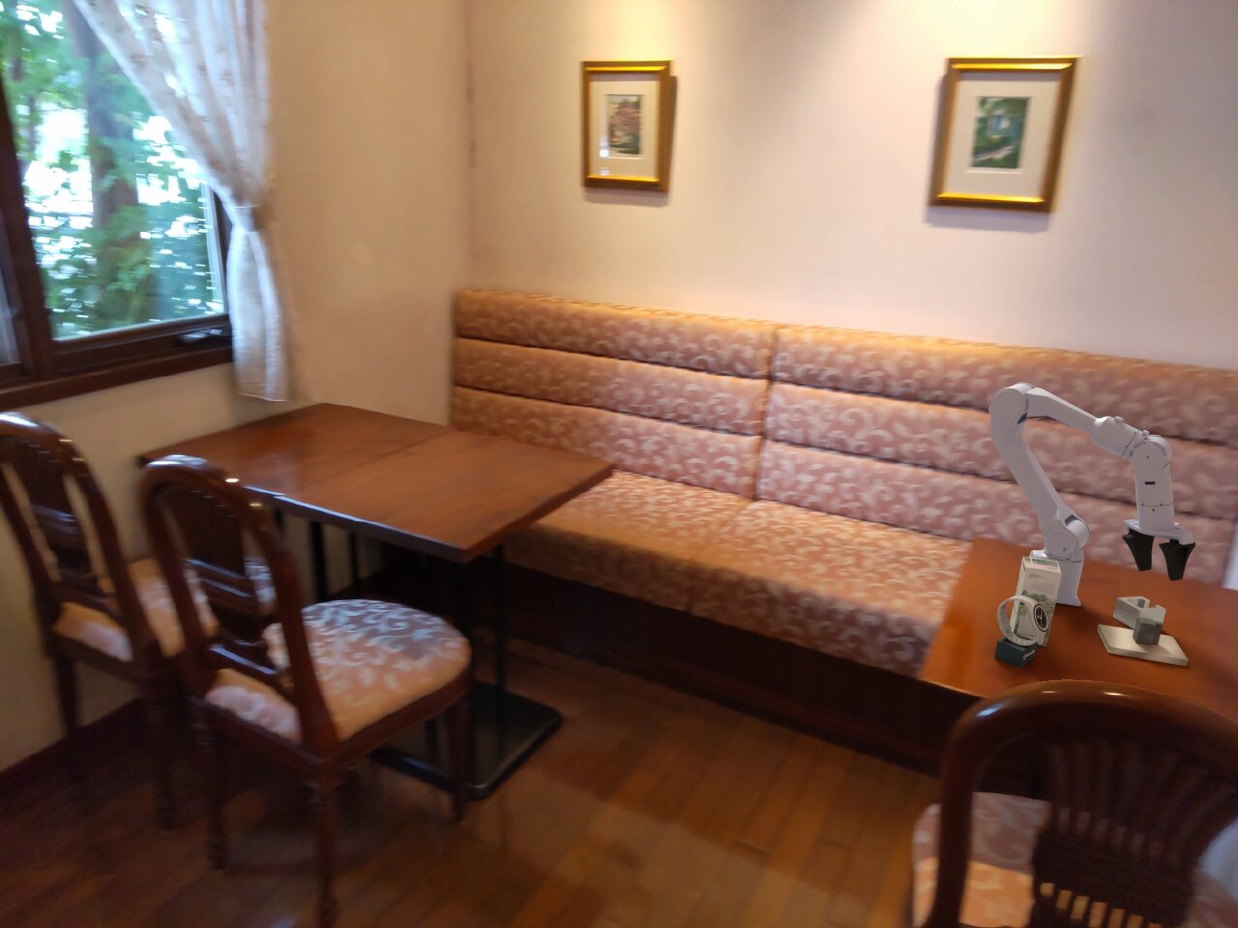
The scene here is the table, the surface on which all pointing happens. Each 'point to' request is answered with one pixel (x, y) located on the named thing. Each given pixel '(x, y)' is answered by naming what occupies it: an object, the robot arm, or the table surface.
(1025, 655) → the watch
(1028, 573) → the syrup box
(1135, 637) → the keyed post base
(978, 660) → the table surface
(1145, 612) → the grey slotted channel block
